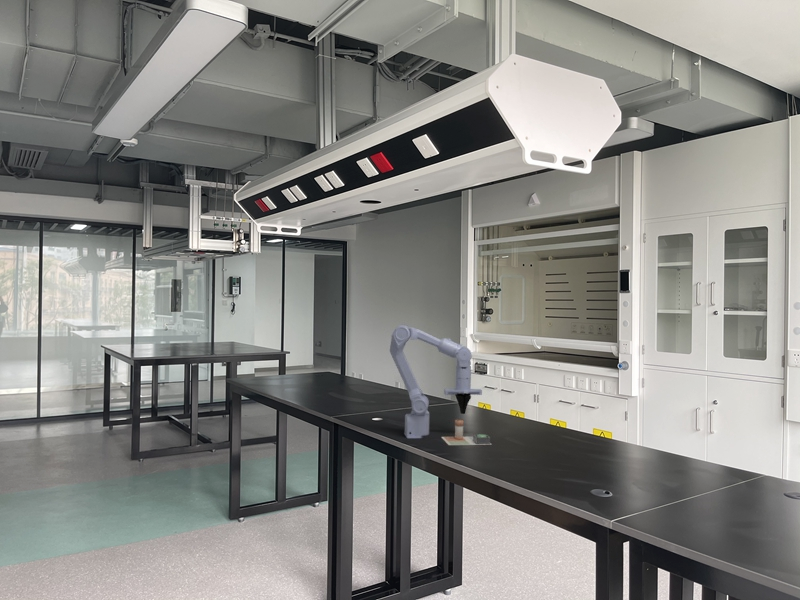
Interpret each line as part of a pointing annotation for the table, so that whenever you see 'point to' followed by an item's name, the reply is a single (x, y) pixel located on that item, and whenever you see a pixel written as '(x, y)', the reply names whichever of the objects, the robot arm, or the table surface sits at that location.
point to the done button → (481, 435)
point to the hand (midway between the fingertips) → (462, 413)
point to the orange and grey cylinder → (459, 429)
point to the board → (461, 441)
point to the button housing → (481, 439)
